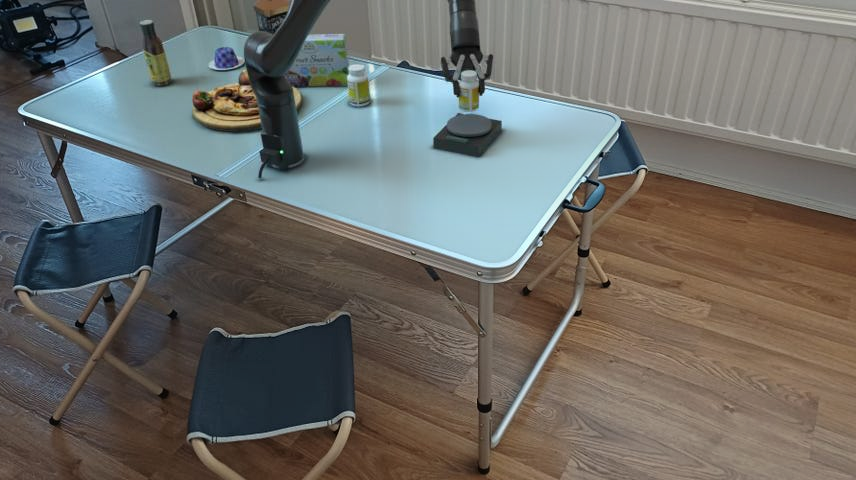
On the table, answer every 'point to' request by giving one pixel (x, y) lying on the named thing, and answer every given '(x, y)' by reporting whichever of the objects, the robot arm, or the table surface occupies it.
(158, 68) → the sauce bottle
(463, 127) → the kitchen scale
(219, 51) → the pudding
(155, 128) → the table surface
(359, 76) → the pill bottle
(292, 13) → the robot arm
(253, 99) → the wooden plate
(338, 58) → the snack box
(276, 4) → the whiskey bottle
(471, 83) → the supplement bottle
